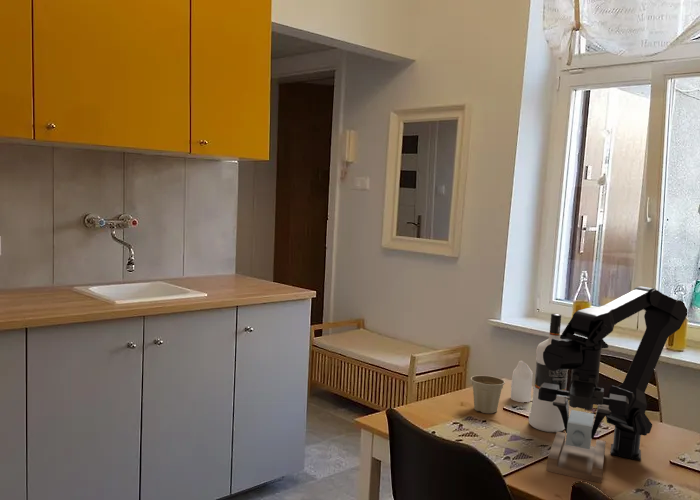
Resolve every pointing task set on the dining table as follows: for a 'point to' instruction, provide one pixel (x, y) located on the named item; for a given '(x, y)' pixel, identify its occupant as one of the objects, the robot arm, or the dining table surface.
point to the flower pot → (486, 393)
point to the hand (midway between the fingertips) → (579, 435)
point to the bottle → (579, 429)
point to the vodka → (544, 411)
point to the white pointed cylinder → (521, 383)
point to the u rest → (576, 459)
